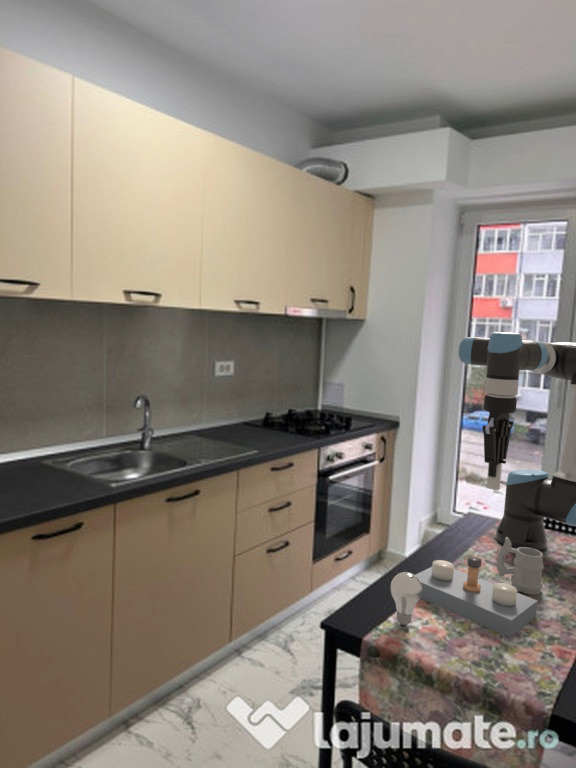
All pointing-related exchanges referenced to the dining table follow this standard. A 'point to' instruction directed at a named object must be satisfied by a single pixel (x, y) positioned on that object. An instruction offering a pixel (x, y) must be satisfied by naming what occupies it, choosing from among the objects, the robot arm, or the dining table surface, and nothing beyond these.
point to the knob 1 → (442, 570)
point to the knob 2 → (504, 594)
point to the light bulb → (405, 595)
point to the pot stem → (472, 575)
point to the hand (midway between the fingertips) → (493, 488)
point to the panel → (477, 603)
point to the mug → (522, 568)
